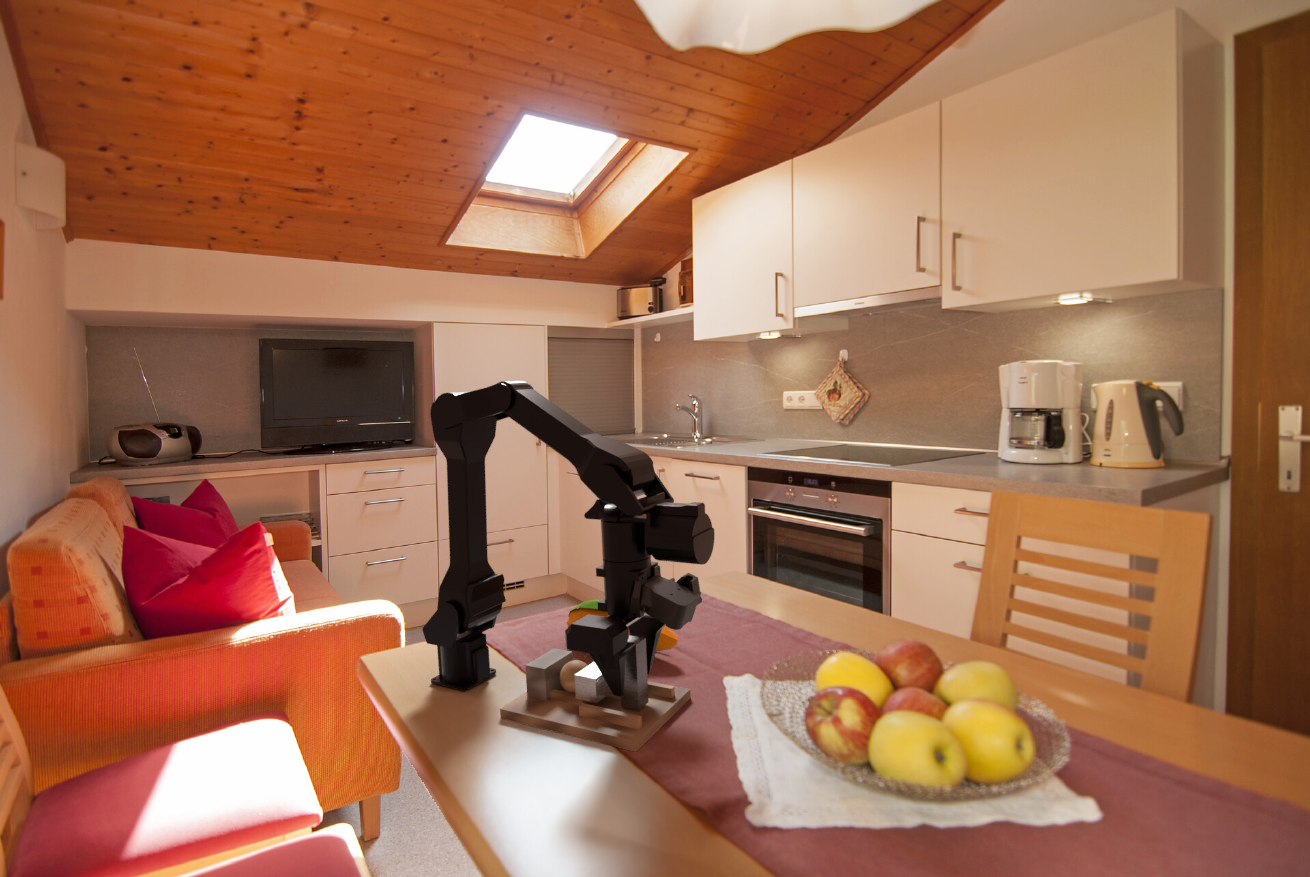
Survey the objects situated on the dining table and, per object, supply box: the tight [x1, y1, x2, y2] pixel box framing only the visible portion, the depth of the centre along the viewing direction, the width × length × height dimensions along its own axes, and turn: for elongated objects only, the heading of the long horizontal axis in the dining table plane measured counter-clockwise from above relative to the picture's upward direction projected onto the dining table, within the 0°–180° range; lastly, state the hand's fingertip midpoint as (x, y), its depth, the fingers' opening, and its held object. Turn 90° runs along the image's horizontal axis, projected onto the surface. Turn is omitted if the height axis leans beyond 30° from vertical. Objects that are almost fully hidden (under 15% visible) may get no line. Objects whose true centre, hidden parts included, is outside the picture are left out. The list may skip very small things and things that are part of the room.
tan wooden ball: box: [560, 659, 589, 693], centre depth 88 cm, size 4×4×4 cm
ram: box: [575, 635, 649, 711], centre depth 85 cm, size 8×6×8 cm
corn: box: [566, 598, 679, 652], centre depth 105 cm, size 7×8×20 cm
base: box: [499, 647, 692, 752], centre depth 87 cm, size 19×14×5 cm
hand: (632, 684), depth 84 cm, fingers open, 6 cm apart
